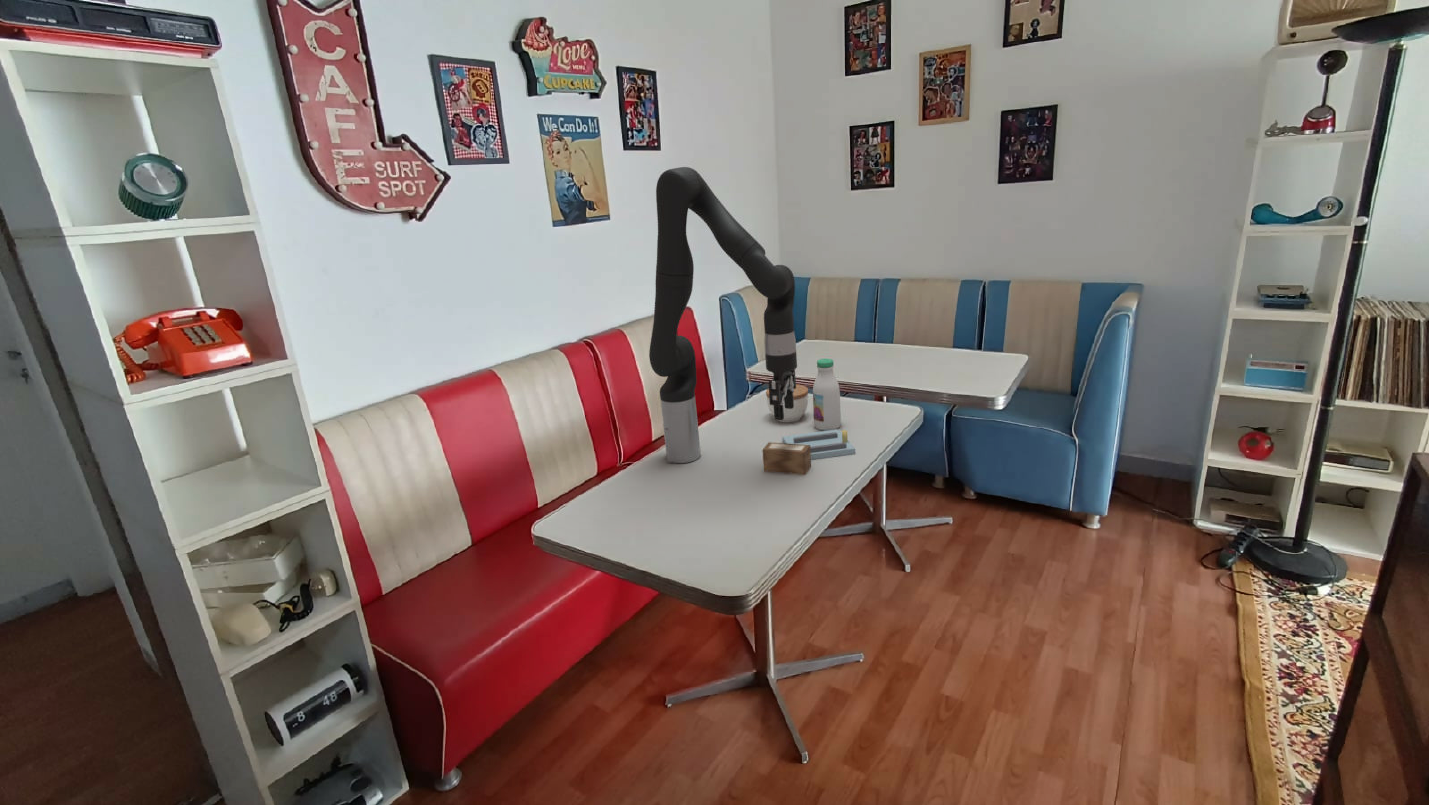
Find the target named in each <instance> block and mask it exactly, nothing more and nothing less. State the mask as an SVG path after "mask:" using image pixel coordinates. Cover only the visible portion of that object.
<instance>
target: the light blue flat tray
mask: <svg viewBox="0 0 1429 805" xmlns="http://www.w3.org/2000/svg"><path fill="white" fill-rule="evenodd" d="M781 437H782V443H787V444H801V445H810V450H811V461H812V460H819V459H826V458H832V457H841V456H848V455H855V454H856V448H855V447H854V445H853V444H852V443H851V442H850V440H848V439H849V438H848V430H846V429H844V430H841V431H840V429H839V428H838V429H835V430H820V431H816V432H815V431H814V432H813V431H812V432H807V433H799V434H790V435H784V436H781Z"/></svg>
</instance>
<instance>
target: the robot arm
mask: <svg viewBox="0 0 1429 805" xmlns="http://www.w3.org/2000/svg"><path fill="white" fill-rule="evenodd" d="M655 196H656V198H655V199H656V216H657V242H656V243H657V244H656V264H655V265H656V268H655V297H654V310H653V311H654V313H653V323H652V324H653V325H652V330H651V337H650V342H649V343H650V344H649V350H648V352H649V355H648V358H649V363H650V366H651V369H652V371H653V372H654V373H655V374H656V375H657V376H659V377H664V378H666V380H665V382H664V383H663V384H661V387H660V389H659V399H660V408H661V415H662V422H663V423H662V426H663V435H664V436H663V437H664V444H665V453H666V454H665V455H666V459H667V463H668V464H670V463H672V464H673V463H674V464H687V463H692V462H694V461H697V460H698V459H700V458H701V457H702V454H701V444H700V434H699V425H698V424H699V422H698V414H697V413H698V412H697V404H696V395H695V394H696V390H695V389H696V387H697V383H698V382H697V379H698V378H697V364H696V363H697V361H696V360H697V359H696V352H695V349H694V346H693V344H692V342H691V340H690V339H689V338H687V337H686V336H683V335H678V328H679V325H680V321H681V319H682V316H683V314H684V312H685V311H686V308H687V306H688V303H689V301H690V299H691V296H692V292H693V285H694V284H693V283H694V269H695V268H694V266H695V265H694V260H693V255H692V251H691V248H690V245H689V242H688V236H687V224H688V223H687V222H688V221H687V220H688V214H689V213H688V211H689V210H690V211H691V212H692V213H694V214H696V215H697V216H698V217H699V218H700V219H701V220H702V221H703V222H704V223H705V225H706V226H707V227H708V228H709V230H710V231H711V233H712V234H713V237H714V239H715V241H716V242H717V244H718V245H719V247H720V248H721V249H722V250H723V251H724V252H725V254H726V255H727V256H728V257H729V258H730V259H731V260H732V261H733V262H734V263H735V264H736V265H737V266H738V267H739V268H741V269H742V271H743V272H744V273H745V275H746V277H747V278H748V280H749V281H750V283H751V285H753V286H754V289H756V291H758V293H759V294H761V295H762V296H763V297H765V298H767V299H766V300H767V305H766V309H765V310H764V313H763V324H764V325H763V326H764V329H763V330H764V339H763V340H764V341H763V342H764V356H765V358H764V359H765V369H766V370H767V371H768V372H770V373H773V377H772V380H768V389H769V401H770V402H769V403H770V405H774V416H773V417H774V420H775V421H778V420H783V419H784V410H783V401H784V403H785V408H786V409H792V408H793V407H794V400H793V394H792V393H794V389H796V384H797V380H796V369H797V368H798V359H797V341H796V340H797V339H796V335H795V324H794V323H795V322H794V321H795V320H794V303H795V293H796V292H795V291H796V283H795V282H796V281H795V276H794V273H793V271H792V270H791V268H789V267H788V266H786V265H784V264H776V265H775V264H773V263H772V262H771V261H770V260H769V258H768V257H767V256H766V251H765V249H764V247H763V246H762V245H761V244H760V243H759V242H758V241H757V239H756V238H754V237H753V236H752V235H751V233H749V232H748V231H747V230H746V229H745V228H744V227H743V226H742V225H741V224H740V223H739V222H738V221H737V220H736V219H735V218H734V216H733V215H732V214H731V212H730V211H729V210H727V208H726V207H725V206H724V204H722V202H721V200H719V198H718V197H717V196H716V195H715V193H714V192H713V190H712V189H711V188H710V186H709V185H708V184H707V182H706V181H705V180H704V178H703V176H701V174H700V173H699V172H698V171H697V170H695V169H694V168H691V167H689V166H681V167H674V168H669V169H667V170H665V171H664V172H663V171H662V173H661V174H660V176H659V177H658V179H657V182H656V188H655ZM776 397H777V400H776Z"/></svg>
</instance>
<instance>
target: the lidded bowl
mask: <svg viewBox="0 0 1429 805" xmlns="http://www.w3.org/2000/svg"><path fill="white" fill-rule="evenodd" d="M765 394H766V402H767V403H766V404H767V407H768V409H769V412H770V413H771V415H772V416H773V417H774V405H770V403H769V402H770V401H769V388H767V389H766V391H765ZM792 394H793V400H794V407H793V408H792V409H786V408H785V403H784V401H783V410H784V419H783V420H777V421H778V422H779V423H780V422H781V423H794V422H797V421H799V420H800V419H801V418H802V416H804V414H805V412H806V411H807V408H808V402H809V388H808V387H807V386H805V385H802V384H797V383H796V389H794V393H792ZM776 400H777V397H776Z"/></svg>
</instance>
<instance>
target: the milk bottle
mask: <svg viewBox="0 0 1429 805" xmlns="http://www.w3.org/2000/svg"><path fill="white" fill-rule="evenodd" d="M816 368H817V375H816V378H815V380H814V382H813V385H812V386H813V388H812V404H813V405H812V407H813V408H812V409H813V410H812V411H813V424H814V428H815V429H817V430H819V431H829V430H836V429H838V430H839V428H840V427H841V424H842V423H841V422H842V418H841V417H842V416H841V415H842V414H841V411H842V410H841V392H840V390H841V389H840V385H839V382H838V380H837V377H836V376H835V373H834V369H833V368H834V360H833V359H831V358H821V359H818V360H817V361H816Z"/></svg>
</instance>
